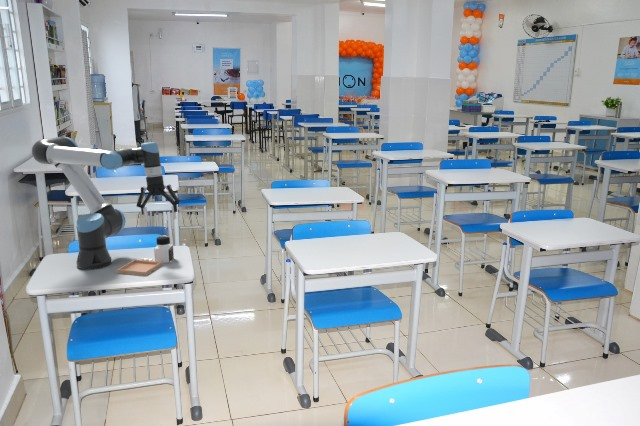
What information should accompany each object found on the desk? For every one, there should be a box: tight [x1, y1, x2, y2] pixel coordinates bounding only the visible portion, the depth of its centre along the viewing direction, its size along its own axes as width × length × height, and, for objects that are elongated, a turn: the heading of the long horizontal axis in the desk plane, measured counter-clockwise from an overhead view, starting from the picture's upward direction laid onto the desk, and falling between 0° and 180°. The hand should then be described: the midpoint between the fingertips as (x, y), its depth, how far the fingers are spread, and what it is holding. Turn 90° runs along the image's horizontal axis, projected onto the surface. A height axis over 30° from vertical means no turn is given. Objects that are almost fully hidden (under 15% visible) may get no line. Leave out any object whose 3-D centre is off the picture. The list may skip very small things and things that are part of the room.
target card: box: [138, 257, 154, 261], centre depth 252 cm, size 6×5×1 cm
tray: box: [116, 259, 163, 276], centre depth 241 cm, size 14×14×2 cm
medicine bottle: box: [153, 235, 175, 264], centre depth 252 cm, size 7×7×12 cm
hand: (160, 220), depth 249 cm, fingers open, 13 cm apart
